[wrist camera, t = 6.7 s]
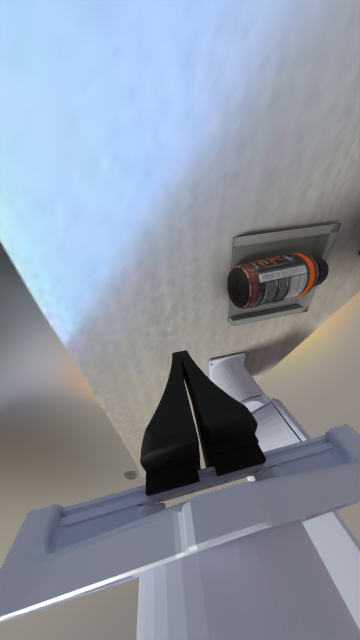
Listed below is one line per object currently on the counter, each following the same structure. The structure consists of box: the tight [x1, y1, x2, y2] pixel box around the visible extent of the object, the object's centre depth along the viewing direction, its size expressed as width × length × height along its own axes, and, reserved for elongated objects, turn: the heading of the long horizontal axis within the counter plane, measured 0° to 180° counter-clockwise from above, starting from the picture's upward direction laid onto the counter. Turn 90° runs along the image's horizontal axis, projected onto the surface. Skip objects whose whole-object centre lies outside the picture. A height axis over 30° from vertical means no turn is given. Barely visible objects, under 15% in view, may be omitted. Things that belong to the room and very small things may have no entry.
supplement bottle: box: [228, 253, 329, 309], centre depth 18 cm, size 6×6×11 cm
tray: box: [228, 223, 341, 326], centre depth 21 cm, size 13×14×2 cm
